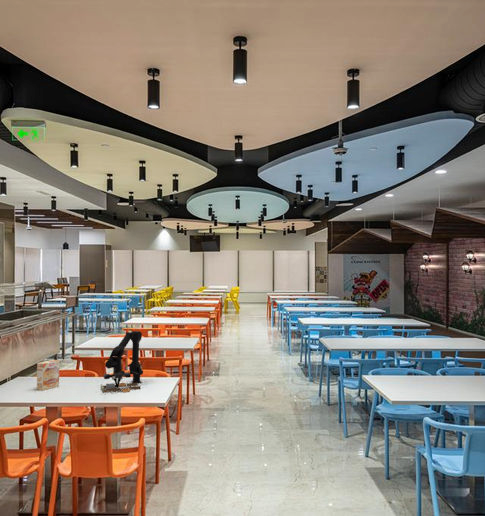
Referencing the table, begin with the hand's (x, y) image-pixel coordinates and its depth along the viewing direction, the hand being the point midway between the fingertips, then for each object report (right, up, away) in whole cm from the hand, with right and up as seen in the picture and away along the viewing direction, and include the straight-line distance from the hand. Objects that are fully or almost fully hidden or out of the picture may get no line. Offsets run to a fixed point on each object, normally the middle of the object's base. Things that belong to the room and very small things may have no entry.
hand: (117, 387), depth 355 cm
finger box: (+2, -1, +1) cm, 2 cm away
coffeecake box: (-52, -1, +3) cm, 52 cm away
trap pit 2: (+8, -1, -7) cm, 10 cm away
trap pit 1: (+1, -2, +10) cm, 10 cm away
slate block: (-4, -1, -2) cm, 5 cm away
